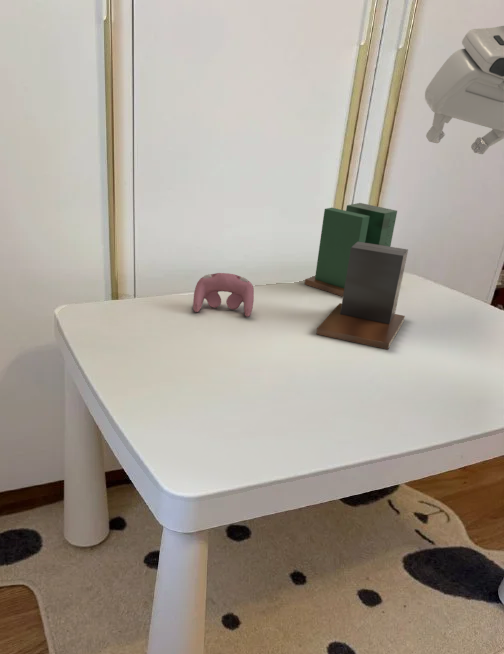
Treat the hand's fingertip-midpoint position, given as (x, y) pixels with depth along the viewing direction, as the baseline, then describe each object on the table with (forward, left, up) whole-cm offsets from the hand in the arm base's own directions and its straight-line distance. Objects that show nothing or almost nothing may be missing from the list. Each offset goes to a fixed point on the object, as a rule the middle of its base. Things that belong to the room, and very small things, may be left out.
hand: (454, 145), depth 96 cm
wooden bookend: (+8, +11, -27) cm, 30 cm away
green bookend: (+13, -10, -27) cm, 31 cm away
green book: (+15, -7, -26) cm, 31 cm away
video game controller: (+31, +14, -27) cm, 43 cm away
